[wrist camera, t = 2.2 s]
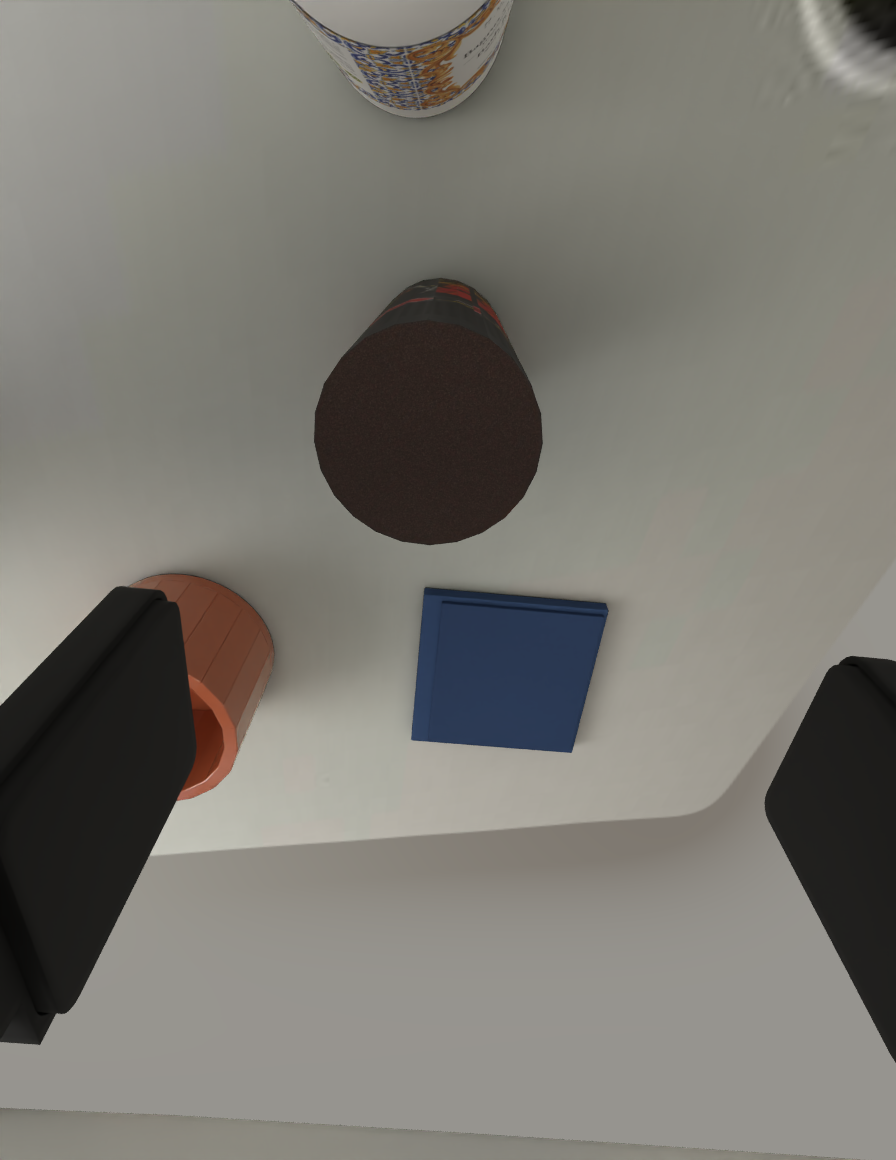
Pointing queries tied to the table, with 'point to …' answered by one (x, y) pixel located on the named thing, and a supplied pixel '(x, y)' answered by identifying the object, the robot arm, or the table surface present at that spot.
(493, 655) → the blue book
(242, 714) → the pot
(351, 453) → the deodorant
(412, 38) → the bath foam
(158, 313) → the table surface
